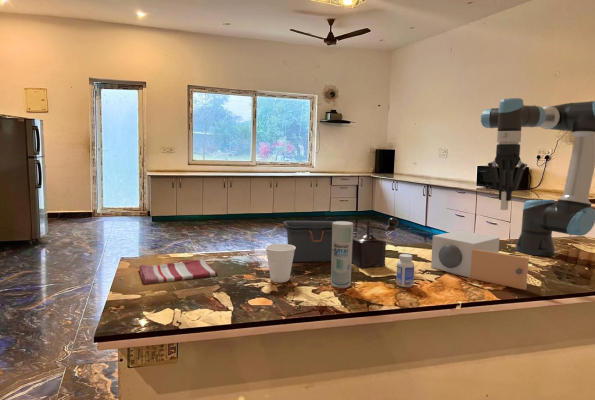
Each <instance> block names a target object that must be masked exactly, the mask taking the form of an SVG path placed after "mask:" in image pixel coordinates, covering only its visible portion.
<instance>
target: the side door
mask: <svg viewBox="0 0 595 400" xmlns="http://www.w3.org/2000/svg"><path fill="white" fill-rule="evenodd" d="M529 262H530V258H529V257H525V256H518V255H512V254H507V253H501V252H498V253H495V252H489V251H483V250H477V249H472V260H471V273H470V279H473V280H478V281H482V282H488V283H492V284H497V285H501V286H506V287H510V288H515V289H520V290H527V286H528V285H527V284H528V273H529Z"/></svg>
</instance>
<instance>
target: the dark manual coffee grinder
mask: <svg viewBox="0 0 595 400" xmlns="http://www.w3.org/2000/svg"><path fill="white" fill-rule="evenodd" d="M387 222H388V227H387V228H385V227H384V228H383V227H381V226H380V227H379V226H374V225H373V226H372V225H371V221H370V220H367V221H366V234H363V235H360V236H359V237H353V241H352V263H351V264H352V265H355V266H356V267H357V268H360V269H367V268H368V269H371V268H377V267H379V268H380V267H385V266H386V250H387V248H386V247H387V242H386V241H385V240H383V239H379V238H377V237H376V236H374V235H373V234H370V229H375V230H381V231H385V232H393V231H396V227H398V225H399V220H398V219H397V218H395V217H390V218H388V220H387Z"/></svg>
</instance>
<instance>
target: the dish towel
mask: <svg viewBox="0 0 595 400" xmlns="http://www.w3.org/2000/svg"><path fill="white" fill-rule="evenodd" d="M139 273H140V276H141V279H142V282H143V284H144V285H150V284H160V283H168V282H169V283H170V282H176V281H177V282H178V280H179V281H185V279H186V280H194V279H202V278H203V279H204V278H211V277H217V276H219V275H218V272H217V270H215V269H214V268H213V267H212V266H211V265H210V264H209V263H208V262H207V261H206V260H205V259H194V260H186V261H182V262H169V263H163V264H160V265H159V264H157V265H146V264H140V266H139Z"/></svg>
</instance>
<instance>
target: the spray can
mask: <svg viewBox="0 0 595 400" xmlns="http://www.w3.org/2000/svg"><path fill="white" fill-rule="evenodd" d="M353 238H354V223H353V222H351V221H344V220H342V221H341V220H339V221H338V220H337V221H333V224H332V261H331V269H330V272H331V273H330V279H331V280H330V285H331V286H332V287H334V288H339V289H345V288H349V287H350V286H351V285H352V284H351V282H352V280H351V278H352V264H353V263H352V241H353Z"/></svg>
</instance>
